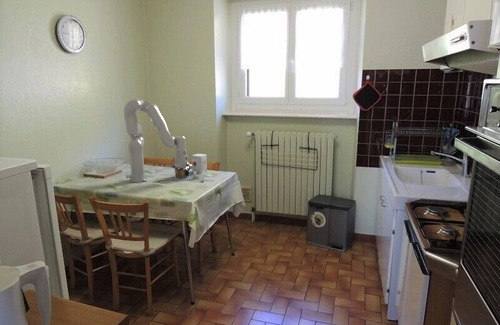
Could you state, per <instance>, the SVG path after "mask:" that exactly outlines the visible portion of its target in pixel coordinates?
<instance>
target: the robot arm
mask: <svg viewBox="0 0 500 325" xmlns="http://www.w3.org/2000/svg"><path fill="white" fill-rule="evenodd" d="M138 111H139V112H142V113H145V114H147V116H148V118H149V120H150V121H151V123H152V124H153V127H154V128H155V131H156V132H157V134H158V136H159V139H160V140H161V142H162V144H164V146H165V148H168V149H171V148H173V147H174V146H175V155H174V156H175V157H174V161H173V162H172V163H171V165H172V167H173V169H174V171H175V170H176V169H179V168H183V169H185V170H186V176H189V175H190V171H191V170H192V164H190V163H189V156H188V152H187V144H186V143H187V142H186V137H185V136H181V135H180V136H172V135H171V133H170V131H169V129H168V126H167V123H166V120H165V118H164V116H163V115H162V113H161V112H160V107H159V106H158V104H156V103H153V102H150V101H149V100H148V101H147V100H145V99H141V98H132V99H131V100H129V101H128V102H126V104H125V106H124V108H123V118H124V122H125V127H126V128H125V129H126V133H127V135H128V136H129V138H130V140H129V142H128V153H129V154H128V155H129V163H130V164H129V165H130V174H125V178H126V179H129V182H131V183H142V182H146V180H148V178H147V176H146V174H145V172H146V171H145V159H144V145H145V139H144V134H143V128H142V126H141V124H140V123H139V122H138V116H137V112H138Z"/></svg>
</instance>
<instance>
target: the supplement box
mask: <svg viewBox="0 0 500 325" xmlns="http://www.w3.org/2000/svg"><path fill="white" fill-rule="evenodd" d="M207 155H208V154H205V153H196V154H192V155H191V170H192V173H193V172H196V174H203V173H208V164H207V163H208V160H207V159H208V158H207Z"/></svg>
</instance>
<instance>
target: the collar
mask: <svg viewBox="0 0 500 325" xmlns="http://www.w3.org/2000/svg"><path fill="white" fill-rule="evenodd" d="M174 173H175V174H174V176H175V177H176V178H186V177H188V176H186V170H185V168H178V169H176V170H175V169H174ZM175 177H174V178H175Z"/></svg>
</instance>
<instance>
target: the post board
mask: <svg viewBox="0 0 500 325" xmlns="http://www.w3.org/2000/svg"><path fill="white" fill-rule="evenodd" d="M205 176H206V174H197V173H196V172H192V174H189V176H188V177H186V178H176V177H174V179H173V180H172V182H200V183H204V182H205V178H206V177H205Z"/></svg>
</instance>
